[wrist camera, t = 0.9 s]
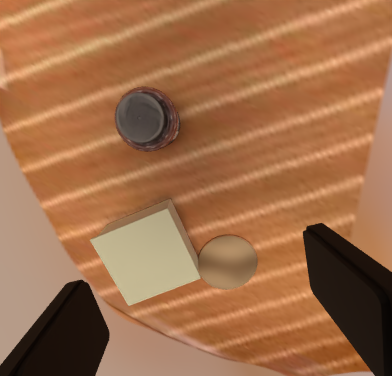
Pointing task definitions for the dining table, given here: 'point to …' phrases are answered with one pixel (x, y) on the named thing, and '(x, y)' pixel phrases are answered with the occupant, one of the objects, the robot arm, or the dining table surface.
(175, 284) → the grey-green block
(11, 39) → the dining table surface
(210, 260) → the tan round plate
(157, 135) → the supplement bottle
